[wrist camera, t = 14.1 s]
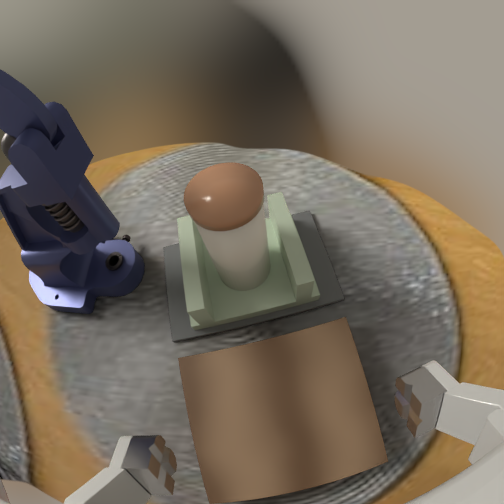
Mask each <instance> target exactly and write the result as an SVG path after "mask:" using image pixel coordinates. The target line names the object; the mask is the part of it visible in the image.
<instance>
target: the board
mask: <svg viewBox="0 0 504 504" xmlns="http://www.w3.org/2000/svg"><path fill="white" fill-rule="evenodd" d="M178 360H179V366H180V373H181V379H182V385H183V390H184V396H185V402H186V407H187V412H188V417H189V422H190V427H191V432H192V436H193V441H194V445H195V450H196V454H197V458H198V462H199V466H200V470H201V474H202V478H203V482H204V486H205V489H206V493H207V496H208V500H209V503H210V504H214V503H227V502H236V501H245V500H252V499H259V498H265V497H271V496H276V495H282V494H286V493H291V492H296V491H300V490H304V489H308V488H312V487H316V486H319V485H323V484H326V483H330V482H333V481H336V480H340V479H343V478H346V477H349V476H352V475H354V474H357V473H360V472H363V471H365V470H368V469H371V468H373V467H376V466H378V465H381V464H383V463H385V462H388V459H387V454H386V450H385V446H384V442H383V438H382V434H381V431H380V427H379V423H378V419H377V416H376V412H375V408H374V405H373V401H372V398H371V394H370V391H369V387H368V384H367V381H366V377H365V374H364V371H363V368H362V364H361V361H360V358H359V355H358V352H357V349H356V346H355V343H354V340H353V337H352V334H351V331H350V328H349V325H348V322H347V319H346V317H344V318H341V319H337V320H334V321H331V322H327V323H324V324H321V325H317V326H314V327H310V328H307V329H303V330H300V331H296V332H293V333H289V334H285V335H281V336H277V337H274V338H270V339H266V340H262V341H257V342H253V343H249V344H245V345H240V346H236V347H231V348H227V349H222V350H218V351H213V352H208V353H203V354H198V355H192V356H187V357H182V358H178Z"/></svg>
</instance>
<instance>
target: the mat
mask: <svg viewBox="0 0 504 504" xmlns="http://www.w3.org/2000/svg"><path fill="white" fill-rule="evenodd" d="M291 216H292V218H293V221H294V223H295V226H296V229H297V231H298V234H299V237H300V239H301V242H302V245H303V248H304V250H305V253H306V256H307V259H308V261H309V264H310V267H311V270H312V273H313V276H314V278H315V281H316V284H317V287H318V290H319V293H320V297H319V300H316V301H312V302H309V303H305V304H301V305H298V306H294V307H290V308H287V309H283V310H279V311H275V312H271V313H267V314H263V315H259V316H255V317H251V318H247V319H243V320H239V321H235V322H230V323H226V324H222V325H217V326H213V327H208V328H203V329H199V330H194V329H193V328H192V327H191V323H190V316H189V313H188V312H187V306H186V299H185V291H184V283H183V274H182V265H181V255H180V245H179V243H178V244H174V245H171V246H167V247H164V263H165V276H166V288H167V298H168V308H169V317H170V326H171V334H172V341H173V342H177V341H182V340H187V339H192V338H197V337H202V336H207V335H211V334H216V333H221V332H225V331H229V330H234V329H238V328H242V327H247V326H251V325H255V324H259V323H263V322H267V321H271V320H275V319H279V318H282V317H286V316H290V315H294V314H297V313H301V312H305V311H308V310H312V309H315V308H319V307H322V306H326V305H329V304H332V303H336V302H339V301H342V300H344V296H343V293H342V290H341V287H340V285H339V282H338V279H337V277H336V274H335V272H334V269H333V266H332V264H331V261H330V259H329V256H328V254H327V251H326V249H325V246H324V244H323V241H322V239H321V237H320V234H319V232H318V229H317V227H316V225H315V222H314V220H313V217H312V215H311V213H310V211H306V212H301V213H297V214H293V215H291Z"/></svg>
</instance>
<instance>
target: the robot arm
mask: <svg viewBox="0 0 504 504" xmlns="http://www.w3.org/2000/svg"><path fill="white" fill-rule="evenodd" d="M395 386H396V387H397V389H398V391H397V392H396V394H395V405H396V409H397V411H398V413H399V415H400V416H401V418H404V419H406V420H408V421H407V427H408V428H409V430H410V431H411V433H412V434H413V436H414V437H415V438H416V437H418V436H420V435H422V434H424V433H426V432H428V431H430V430H432V429H434V428H436V429H437V430H439V431H442V432H444V433H446V434H449V435H451V436H454V437H456V438H458V439H461V440H463V441H466V442H468V443H471V444H473V445H475V446H474V448H473V450H472V452H471V454H470V456H469V459H468V460H469V461H470V463H471V464H472V465H471V466H470V467H468V468H467V469H465V470H464V471H462V472H461V473H459V474H458V475H456V476H454V477H453V478H451V479H449V480H448V481H446V482H444V483H443V484H441V485H439V486H438V487H436V488H434V489H432V490H430V491H429V492H427V493H425V494H423V495H421V496H419V497H417V498H415V499H413V500H411V501H409V502H407V503H405V504H504V390H500V389H494V388H489V387H484V386H479V385H474V384H469V383H464V382H462V383H461V384H459V383H458V382H457V381H456V380H455V379H454V378H453V377H452V376H451V375H450V374H449V373H448V372H447V371H446V370H445V369H444V368H443V367H442V366H441V365H440V364H439V363H438V362H436V361H434V360H433V361H431V362H429V363H427V364H425V365H423V366H421V367H419V368H417V369H415V370H412V371H410V372H408V373H406V374H404V375H402V376H399V377H397V379H396V385H395ZM176 467H177V464H176V458H175V455H174V453H173V451H172V450H171V449H170V448H168V447H166V446H165V440H164V439H163V438H162V436H159V435H152V436H122V437H120V438H119V441H118V443H117V446H116V449H115V452H114V454H113V457H112V460H111V463H110V465H109V468H104V469H103V470H102V471H101V472H99V473H98V474H97V475H96V476H94V477H93V478H92V479H91V480H89V481H88V482H87V483H86V484H84V485H83V486H82V487H80V488H79V489H78V490H77V491H75V492H74V493H73V494H71V495H70V496H69V497H67V498H66V499H65V502H64V504H146V502H147V501H148V500H149V499H150V498H151V495H173V489H174V482H175V481H174V480H173V478H172V477H171V476H172V475H173V474H174V473H175V472H176ZM0 504H10V503H9V500H8V497H7V494H6V491H5V489H4V486H3V484H2V481H1V479H0Z"/></svg>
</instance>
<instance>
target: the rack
mask: <svg viewBox="0 0 504 504" xmlns="http://www.w3.org/2000/svg"><path fill="white" fill-rule="evenodd" d="M267 199H268V208H269V217H270V218H267V219H265V221H266V230H267V238H268V247H269V255H270V265H271V267H270V273H269V275H268V277H267V279H266V280H265V281H264V282H263V283H262V284H261V285H260V286H258V287H256V288H254V289H251V290H247V291H238V290H234V289H231V288H229V287H228V286H226V285H225V284H224V283H223V281H222V280H221V278H220V276H219V274H218V272H217V270H216V268H215V266H214V263H213V261H212V259H211V257H210V255H209V253H208V251H207V248H206V246H205V244H204V242H203V240H202V237H201V235H200V233H199V231H198V229H197V226H196V224H195V222H194V221H193V220H192V219H191V217H190V215H188V216H185V217H181V218H177V223H178V235H179V245H180V255H181V265H182V274H183V283H184V291H185V299H186V306H187V312H188V313H189V316H190V323H191V327H192V328H193V329H194V330H199V329H203V328H208V327H213V326H217V325H222V324H226V323H230V322H235V321H239V320H243V319H247V318H251V317H255V316H259V315H263V314H267V313H271V312H275V311H279V310H283V309H287V308H290V307H294V306H298V305H301V304H305V303H309V302H312V301H316V300H319V297H320V293H319V290H318V287H317V284H316V281H315V278H314V276H313V273H312V270H311V267H310V264H309V261H308V259H307V256H306V253H305V250H304V248H303V245H302V242H301V239H300V237H299V234H298V231H297V229H296V226H295V223H294V221H293V218H292V216H291V213H290V212H289V210H288V207H287V204H286V202H285V199H284V197H283V194H282V192H279V193H275V194H271V195H267Z"/></svg>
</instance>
